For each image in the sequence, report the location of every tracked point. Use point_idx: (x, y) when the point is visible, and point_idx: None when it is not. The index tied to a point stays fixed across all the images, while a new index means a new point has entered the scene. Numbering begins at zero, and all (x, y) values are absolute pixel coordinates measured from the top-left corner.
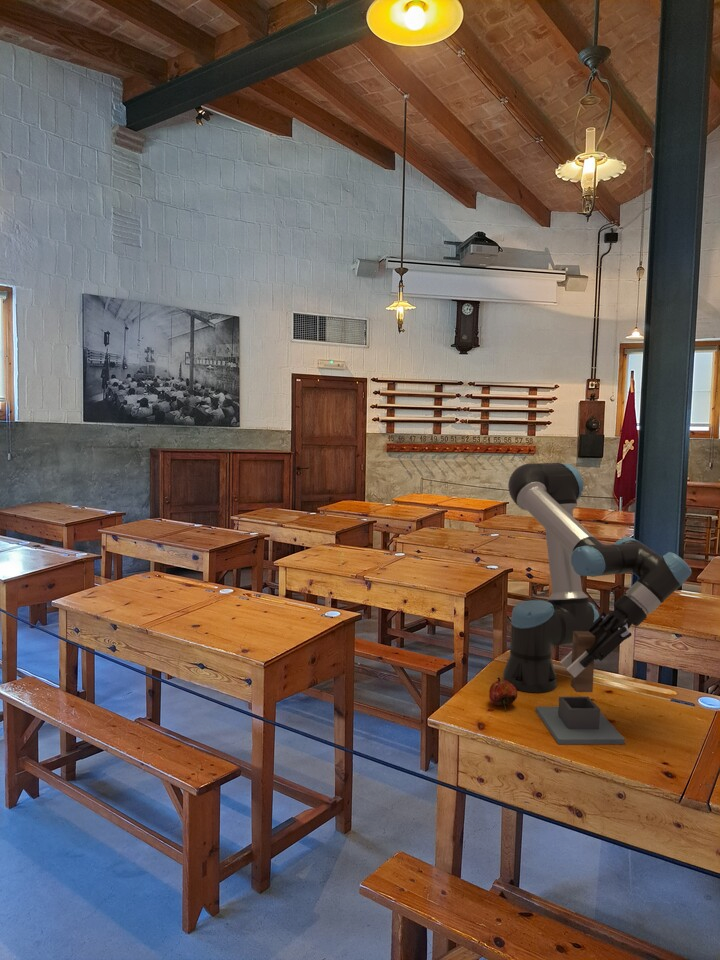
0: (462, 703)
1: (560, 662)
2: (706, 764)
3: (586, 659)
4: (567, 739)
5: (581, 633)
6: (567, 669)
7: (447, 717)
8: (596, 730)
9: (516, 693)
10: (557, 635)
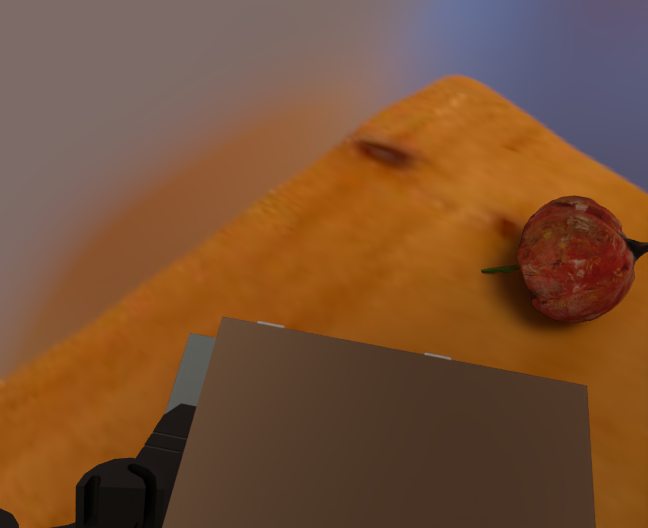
0: (560, 162)
1: (437, 356)
2: None
3: (138, 457)
4: (179, 368)
5: (415, 503)
6: (263, 323)
7: (453, 90)
8: None
9: (548, 300)
10: None
